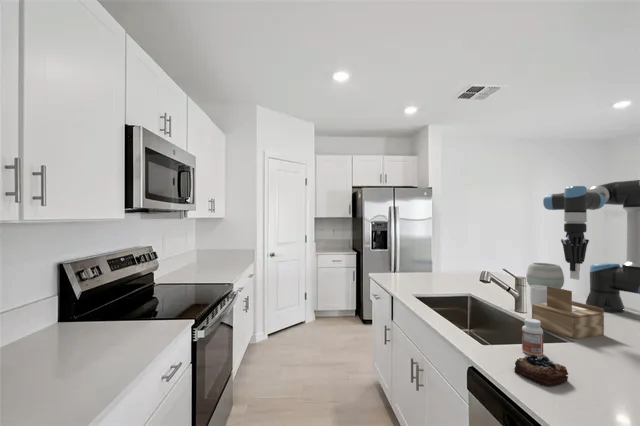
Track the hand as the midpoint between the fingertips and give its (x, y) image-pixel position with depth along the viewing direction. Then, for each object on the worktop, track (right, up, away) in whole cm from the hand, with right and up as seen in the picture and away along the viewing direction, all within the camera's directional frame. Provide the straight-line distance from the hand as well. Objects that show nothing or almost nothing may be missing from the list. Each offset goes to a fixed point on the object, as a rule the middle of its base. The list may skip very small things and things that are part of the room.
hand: (574, 278), depth 141 cm
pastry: (-43, -21, -42) cm, 64 cm away
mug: (+1, -21, +20) cm, 29 cm away
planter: (+9, -21, +32) cm, 39 cm away
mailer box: (-5, -21, -1) cm, 21 cm away
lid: (-5, -12, -1) cm, 13 cm away
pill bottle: (-34, -21, -26) cm, 47 cm away
